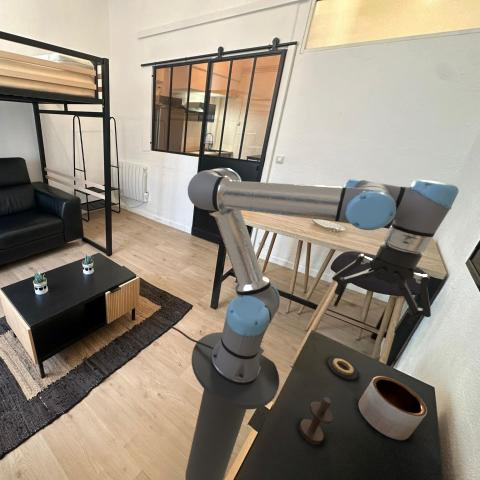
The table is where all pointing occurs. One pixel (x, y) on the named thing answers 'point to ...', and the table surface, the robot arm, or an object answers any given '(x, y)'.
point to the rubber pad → (348, 377)
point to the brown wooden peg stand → (316, 421)
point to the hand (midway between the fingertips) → (364, 317)
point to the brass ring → (337, 360)
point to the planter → (392, 407)
